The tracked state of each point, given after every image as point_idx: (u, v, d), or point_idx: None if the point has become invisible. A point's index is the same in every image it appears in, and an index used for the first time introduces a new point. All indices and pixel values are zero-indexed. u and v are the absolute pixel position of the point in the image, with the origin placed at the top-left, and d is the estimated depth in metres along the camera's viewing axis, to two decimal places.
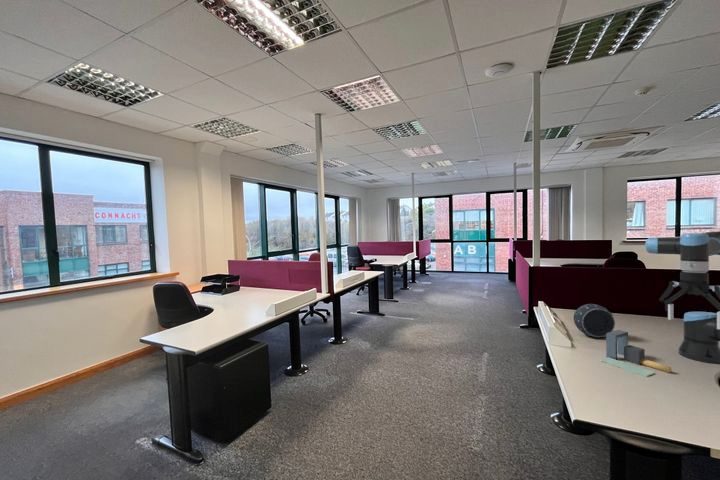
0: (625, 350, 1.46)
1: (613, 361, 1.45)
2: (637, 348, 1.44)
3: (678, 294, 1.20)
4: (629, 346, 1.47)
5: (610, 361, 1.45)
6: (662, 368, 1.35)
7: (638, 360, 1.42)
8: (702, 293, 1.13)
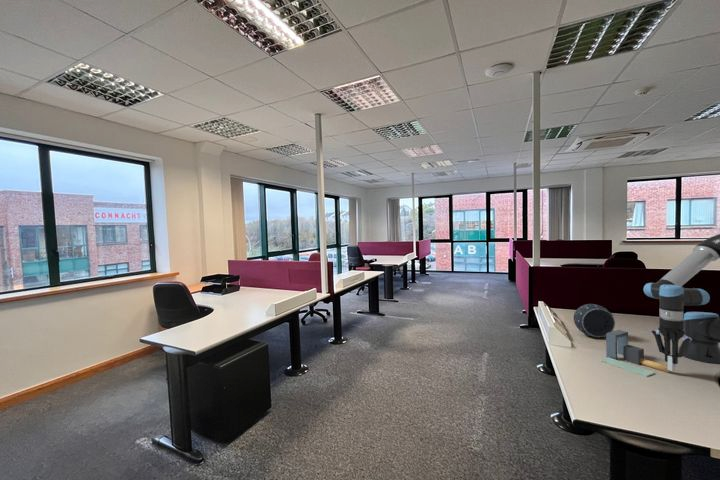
0: (624, 350, 1.47)
1: (613, 361, 1.45)
2: (636, 348, 1.44)
3: (666, 342, 1.33)
4: (628, 346, 1.47)
5: (610, 361, 1.45)
6: (661, 368, 1.35)
7: (637, 360, 1.42)
8: (673, 339, 1.31)
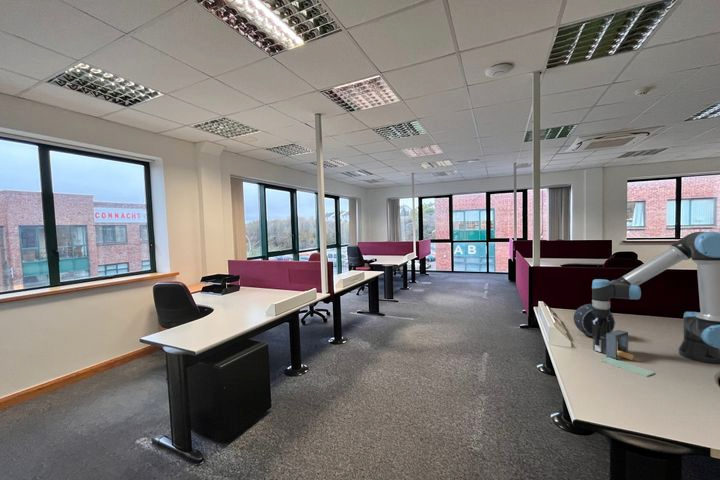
0: (594, 340, 1.59)
1: (613, 361, 1.45)
2: (605, 338, 1.57)
3: None
4: None
5: (610, 361, 1.45)
6: (625, 356, 1.47)
7: (605, 349, 1.54)
8: None
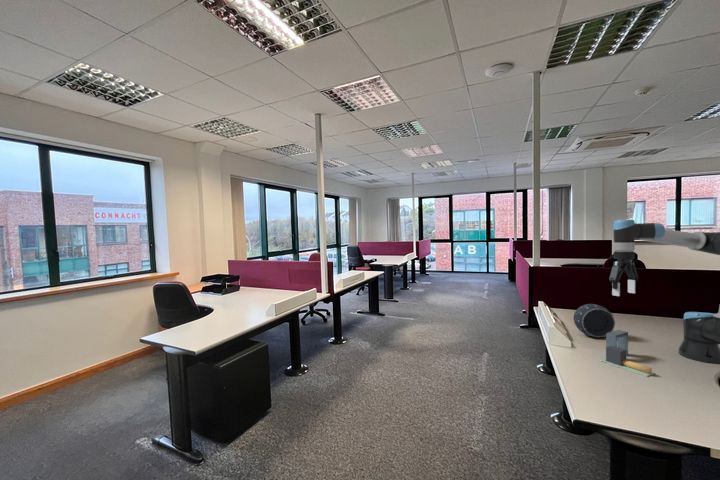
0: (607, 351, 1.45)
1: None
2: (619, 349, 1.42)
3: None
4: (611, 347, 1.45)
5: None
6: (643, 369, 1.33)
7: (619, 361, 1.40)
8: None
